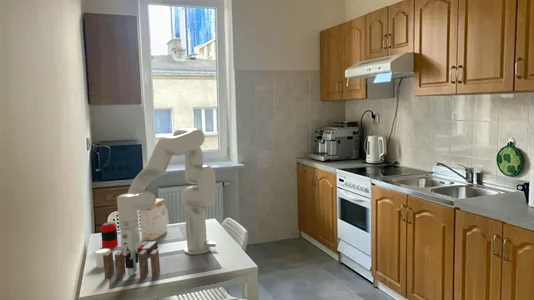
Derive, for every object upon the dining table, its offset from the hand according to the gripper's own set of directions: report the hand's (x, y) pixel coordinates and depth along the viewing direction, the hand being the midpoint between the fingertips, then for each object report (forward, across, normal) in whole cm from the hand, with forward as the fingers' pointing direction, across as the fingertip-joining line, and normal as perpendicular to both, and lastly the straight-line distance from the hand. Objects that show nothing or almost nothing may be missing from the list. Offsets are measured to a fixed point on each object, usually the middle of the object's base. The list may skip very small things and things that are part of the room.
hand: (132, 265), depth 176 cm
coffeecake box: (+5, +54, +7) cm, 55 cm away
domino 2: (+4, 0, +5) cm, 7 cm away
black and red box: (+5, +29, +7) cm, 30 cm away
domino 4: (+4, 0, -5) cm, 7 cm away
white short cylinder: (+5, +12, +18) cm, 22 cm away
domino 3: (+3, 0, 0) cm, 3 cm away
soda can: (+5, +39, +26) cm, 47 cm away
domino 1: (+4, 0, +10) cm, 11 cm away
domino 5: (+4, 0, -10) cm, 11 cm away
